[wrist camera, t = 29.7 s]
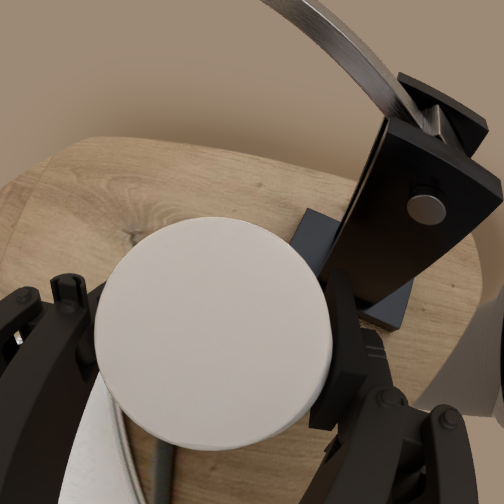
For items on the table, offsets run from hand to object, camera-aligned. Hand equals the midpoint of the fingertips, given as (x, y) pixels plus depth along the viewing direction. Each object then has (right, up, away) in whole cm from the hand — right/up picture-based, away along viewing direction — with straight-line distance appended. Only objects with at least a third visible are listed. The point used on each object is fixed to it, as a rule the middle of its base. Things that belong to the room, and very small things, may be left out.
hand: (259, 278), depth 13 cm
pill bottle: (-1, -5, +2) cm, 5 cm away
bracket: (+7, 0, +7) cm, 10 cm away
